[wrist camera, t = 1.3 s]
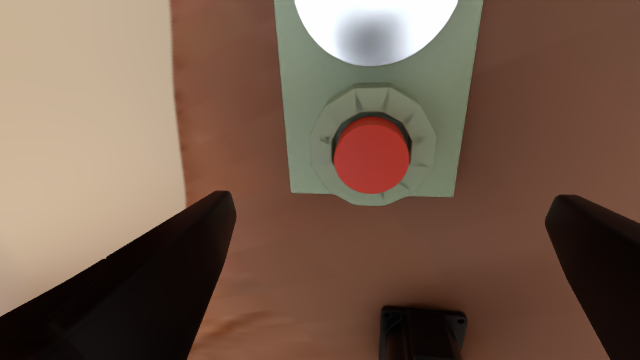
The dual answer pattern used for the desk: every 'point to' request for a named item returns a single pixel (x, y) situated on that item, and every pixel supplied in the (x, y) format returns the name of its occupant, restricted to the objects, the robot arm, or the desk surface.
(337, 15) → the plate
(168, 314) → the robot arm
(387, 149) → the button
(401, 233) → the desk surface
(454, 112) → the warmer
